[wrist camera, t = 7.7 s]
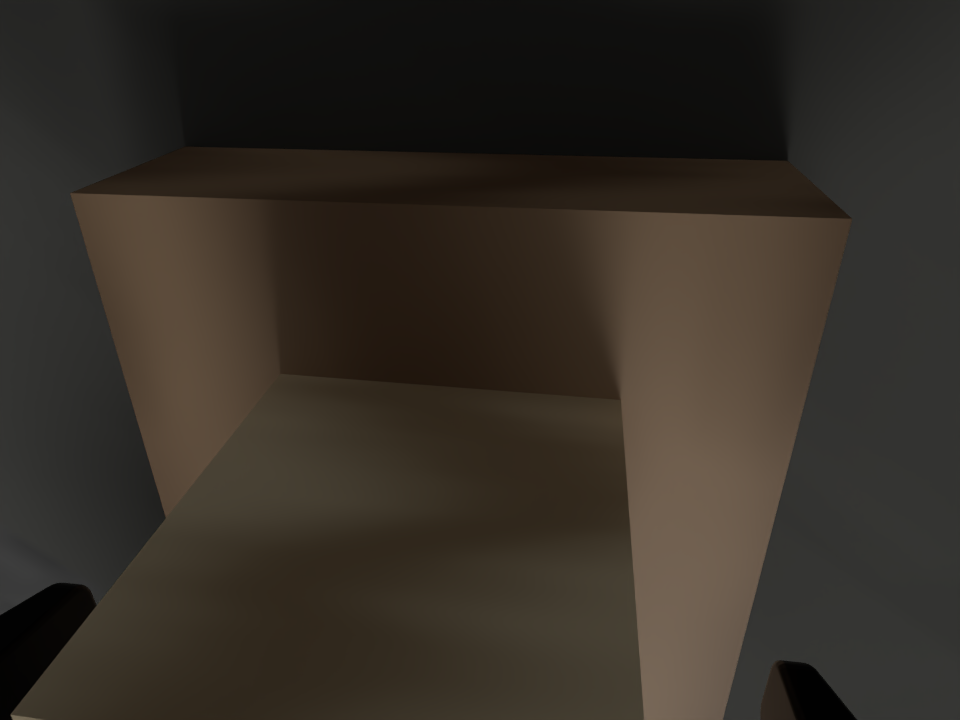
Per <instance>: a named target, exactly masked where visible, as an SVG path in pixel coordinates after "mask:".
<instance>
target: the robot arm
mask: <svg viewBox="0 0 960 720" xmlns="http://www.w3.org/2000/svg"><path fill="white" fill-rule="evenodd" d="M96 606H97V605H96V603H95V600H94V598H93V595H92V593H91V591H90V589H89V588H88V587H86V586H84V585H79V584H70V583H56V584H53V585H51V586H49V587H47V588H45V589H44V590H42V591H40V592H39V593H37V594H35V595H34V596H32V597H30V598H29V599H27V600H25V601H23V602H22V603H20V604H18V605H17V606H15V607H13V608H12V609H10V610H8V611H7V612H5V613H3V614H1V615H0V720H13V719H12V717H11V713H12V712H13V711H14V710H15V708H16V707H17V706H18V705H19V703H20V702H21V701H22V699H23V698H24V697H25V696H26V694H27V693H28V692H29V691H30V689H31V688H32V687H33V686H34V684H35V683H36V682H37V681H38V679H39V678H40V677H41V675H42V674H43V673H44V672H45V670H46V669H47V668H48V667H49V665H50V664H51V663H52V662H53V660H54V659H55V658H56V657H57V655H58V654H59V653H60V651H61V650H62V649H63V648H64V646H65V645H66V644H67V643H68V641H69V640H70V639H71V638H72V636H73V635H74V634H75V633H76V631H77V630H78V629H79V627H80V626H81V625H82V624H83V622H84V621H85V620H86V619H87V617H88V616H89V615H90V614H91V612H92V611H93V610H94V609H95V607H96ZM761 720H857V719H856V718H855V717H854V715H853V714H852V713H851V712H850V711H849V709H848V708H847V707H846V706H845V704H844V703H843V702H842V701H841V699H840V698H839V697H838V696H837V695H836V693H835V692H834V691H833V690H832V688H831V687H830V686H829V685H828V684H827V682H826V681H825V680H824V679H823V677H822V676H821V675H820V674H819V673H818V671H817V670H816V669H815V668H814V667H812V666H811V665H809V664H806V663H801V662H791V661H782V660H780V661H776V662H775V663H774V664H773V665H772V668H771V671H770V674H769V678H768V681H767V685H766V688H765V692H764V695H763V699H762V703H761Z"/></svg>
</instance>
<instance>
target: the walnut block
mask: <svg viewBox="0 0 960 720" xmlns="http://www.w3.org/2000/svg"><path fill="white" fill-rule="evenodd" d="M70 194H71V198H72V201H73V204H74V208H75V211H76V215H77V218H78V221H79V225H80V228H81V232H82V235H83V238H84V242H85V245H86V249H87V252H88V255H89V259H90V262H91V266H92V269H93V272H94V276H95V279H96V282H97V286H98V289H99V293H100V296H101V299H102V303H103V306H104V310H105V313H106V316H107V320H108V323H109V327H110V330H111V333H112V337H113V340H114V344H115V347H116V350H117V354H118V357H119V361H120V364H121V367H122V371H123V374H124V377H125V381H126V384H127V388H128V391H129V394H130V398H131V401H132V405H133V408H134V411H135V415H136V418H137V422H138V425H139V428H140V432H141V435H142V439H143V442H144V445H145V449H146V452H147V456H148V459H149V462H150V466H151V469H152V473H153V476H154V479H155V483H156V486H157V489H158V493H159V496H160V500H161V503H162V506H163V510H164V513H165V517H166V518H167V516H168V515H169V514H170V513H171V511H172V510H173V509H174V508H175V506H176V505H177V504H178V502H179V501H180V500H181V499H182V497H183V496H184V495H185V494H186V492H187V491H188V490H189V489H190V487H191V486H192V485H193V484H194V482H195V481H196V480H197V478H198V477H199V476H200V475H201V473H202V472H203V471H204V470H205V468H206V467H207V466H208V465H209V463H210V462H211V461H212V460H213V458H214V457H215V456H216V454H217V453H218V452H219V451H220V449H221V448H222V447H223V446H224V444H225V443H226V442H227V441H228V439H229V438H230V437H231V436H232V434H233V433H234V432H235V430H236V429H237V428H238V427H239V425H240V424H241V423H242V422H243V420H244V419H245V418H246V417H247V415H248V414H249V413H250V412H251V410H252V409H253V408H254V406H255V405H256V404H257V403H258V401H259V400H260V399H261V398H262V396H263V395H264V394H265V393H266V391H267V390H268V389H269V388H270V386H271V385H272V384H273V382H274V381H275V380H276V379H277V377H278V376H279V375H280V374H288V375H301V376H314V377H327V378H340V379H353V380H366V381H379V382H392V383H405V384H419V385H432V386H445V387H458V388H471V389H484V390H497V391H510V392H523V393H536V394H549V395H562V396H575V397H588V398H601V399H614V400H621V408H622V421H623V435H624V449H625V463H626V476H627V490H628V504H629V518H630V531H631V545H632V559H633V573H634V586H635V600H636V614H637V628H638V642H639V655H640V669H641V683H642V697H643V710H644V720H723V716H724V712H725V709H726V705H727V701H728V697H729V693H730V689H731V685H732V682H733V678H734V674H735V670H736V666H737V662H738V658H739V654H740V651H741V647H742V643H743V639H744V635H745V631H746V627H747V624H748V620H749V616H750V612H751V608H752V604H753V600H754V597H755V593H756V589H757V585H758V581H759V577H760V573H761V569H762V566H763V562H764V558H765V554H766V550H767V546H768V542H769V539H770V535H771V531H772V527H773V523H774V519H775V515H776V512H777V508H778V504H779V500H780V496H781V492H782V488H783V484H784V481H785V477H786V473H787V469H788V465H789V461H790V457H791V454H792V450H793V446H794V442H795V438H796V434H797V430H798V426H799V423H800V419H801V415H802V411H803V407H804V403H805V399H806V396H807V392H808V388H809V384H810V380H811V376H812V372H813V369H814V365H815V361H816V357H817V353H818V349H819V345H820V341H821V338H822V334H823V330H824V326H825V322H826V318H827V314H828V311H829V307H830V303H831V299H832V295H833V291H834V287H835V284H836V280H837V276H838V272H839V268H840V264H841V260H842V256H843V253H844V249H845V245H846V241H847V237H848V233H849V229H850V226H851V222H852V218H851V217H849V216H848V215H847V214H846V213H845V212H844V211H843V210H842V209H841V208H840V207H838V206H837V205H836V204H835V203H834V202H833V201H832V200H831V199H830V198H828V197H827V196H826V195H825V194H824V193H823V192H822V191H821V190H820V189H818V188H817V187H816V186H815V185H814V184H813V183H812V182H811V181H810V180H808V179H807V178H806V177H805V176H804V175H803V174H802V173H801V172H800V171H798V170H797V169H796V168H795V167H794V166H793V165H792V164H791V163H790V162H788V161H771V160H729V159H686V158H644V157H602V156H559V155H517V154H475V153H433V152H390V151H348V150H306V149H263V148H221V147H183V148H180V149H178V150H176V151H173V152H171V153H168V154H166V155H163V156H161V157H158V158H156V159H153V160H151V161H148V162H146V163H143V164H141V165H139V166H136V167H134V168H131V169H129V170H126V171H124V172H121V173H119V174H116V175H114V176H111V177H109V178H106V179H104V180H102V181H99V182H97V183H94V184H92V185H89V186H87V187H84V188H82V189H79V190H77V191H74V192H72V193H70Z"/></svg>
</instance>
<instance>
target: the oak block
mask: <svg viewBox="0 0 960 720" xmlns="http://www.w3.org/2000/svg"><path fill="white" fill-rule="evenodd" d="M11 717H12V719H13V720H644V710H643V697H642V683H641V669H640V655H639V642H638V628H637V614H636V600H635V586H634V573H633V559H632V545H631V531H630V518H629V504H628V490H627V476H626V463H625V449H624V435H623V421H622V408H621V400H614V399H601V398H588V397H575V396H562V395H549V394H536V393H523V392H510V391H497V390H484V389H471V388H458V387H445V386H432V385H419V384H405V383H392V382H379V381H366V380H353V379H340V378H327V377H314V376H301V375H288V374H280V375H279V376H278V377H277V379H276V380H275V381H274V382H273V384H272V385H271V386H270V388H269V389H268V390H267V391H266V393H265V394H264V395H263V396H262V398H261V399H260V400H259V401H258V403H257V404H256V405H255V406H254V408H253V409H252V410H251V412H250V413H249V414H248V415H247V417H246V418H245V419H244V420H243V422H242V423H241V424H240V425H239V427H238V428H237V429H236V430H235V432H234V433H233V434H232V436H231V437H230V438H229V439H228V441H227V442H226V443H225V444H224V446H223V447H222V448H221V449H220V451H219V452H218V453H217V454H216V456H215V457H214V458H213V460H212V461H211V462H210V463H209V465H208V466H207V467H206V468H205V470H204V471H203V472H202V473H201V475H200V476H199V477H198V478H197V480H196V481H195V482H194V484H193V485H192V486H191V487H190V489H189V490H188V491H187V492H186V494H185V495H184V496H183V497H182V499H181V500H180V501H179V502H178V504H177V505H176V506H175V508H174V509H173V510H172V511H171V513H170V514H169V515H168V516H167V518H166V519H165V520H164V521H163V523H162V524H161V525H160V526H159V528H158V529H157V530H156V532H155V533H154V534H153V535H152V537H151V538H150V539H149V540H148V542H147V543H146V544H145V545H144V547H143V548H142V549H141V550H140V552H139V553H138V554H137V556H136V557H135V558H134V559H133V561H132V562H131V563H130V564H129V566H128V567H127V568H126V569H125V571H124V572H123V573H122V574H121V576H120V577H119V578H118V580H117V581H116V582H115V583H114V585H113V586H112V587H111V588H110V590H109V591H108V592H107V593H106V595H105V596H104V597H103V598H102V600H101V601H100V602H99V603H98V605H97V606H96V607H95V609H94V610H93V611H92V612H91V614H90V615H89V616H88V617H87V619H86V620H85V621H84V622H83V624H82V625H81V626H80V627H79V629H78V630H77V631H76V633H75V634H74V635H73V636H72V638H71V639H70V640H69V641H68V643H67V644H66V645H65V646H64V648H63V649H62V650H61V651H60V653H59V654H58V655H57V657H56V658H55V659H54V660H53V662H52V663H51V664H50V665H49V667H48V668H47V669H46V670H45V672H44V673H43V674H42V675H41V677H40V678H39V679H38V681H37V682H36V683H35V684H34V686H33V687H32V688H31V689H30V691H29V692H28V693H27V694H26V696H25V697H24V698H23V699H22V701H21V702H20V703H19V705H18V706H17V707H16V708H15V710H14V711H13V712H12V713H11Z"/></svg>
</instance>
